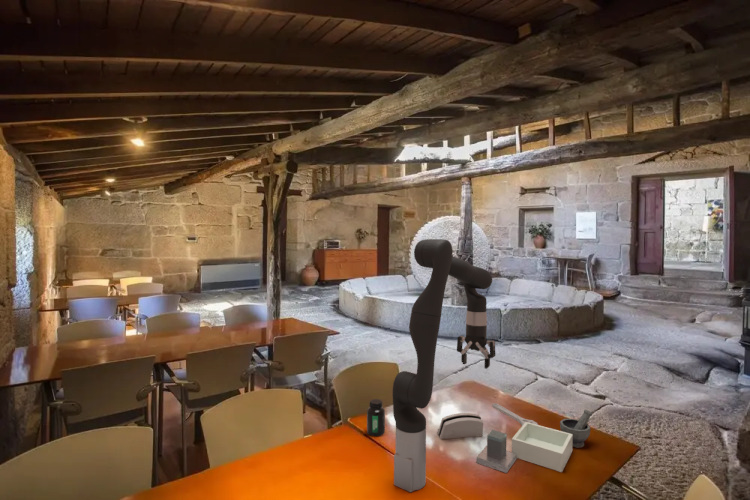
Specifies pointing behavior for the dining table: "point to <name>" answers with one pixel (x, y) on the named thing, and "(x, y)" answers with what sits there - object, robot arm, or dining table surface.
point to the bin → (543, 446)
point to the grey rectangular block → (496, 444)
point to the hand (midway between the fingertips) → (475, 366)
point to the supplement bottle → (375, 418)
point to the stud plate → (495, 463)
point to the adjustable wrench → (512, 414)
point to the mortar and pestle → (577, 428)
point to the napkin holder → (461, 426)
